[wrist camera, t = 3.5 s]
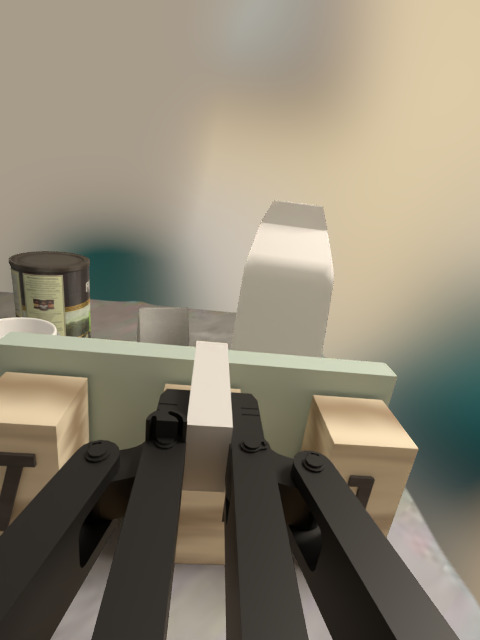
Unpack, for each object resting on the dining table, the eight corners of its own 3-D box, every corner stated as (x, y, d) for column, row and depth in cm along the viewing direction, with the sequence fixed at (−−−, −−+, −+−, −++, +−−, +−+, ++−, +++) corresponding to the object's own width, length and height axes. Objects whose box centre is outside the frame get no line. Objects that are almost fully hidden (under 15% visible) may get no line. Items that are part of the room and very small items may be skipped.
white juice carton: (186, 376, 54) (191, 312, 51) (139, 380, 52) (141, 313, 48) (180, 364, 57) (185, 303, 54) (136, 367, 55) (137, 304, 51)
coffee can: (81, 330, 64) (78, 250, 60) (100, 355, 57) (99, 265, 52) (13, 339, 58) (3, 251, 53) (24, 368, 51) (14, 268, 46)
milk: (221, 403, 49) (246, 198, 40) (230, 364, 60) (251, 195, 50) (311, 417, 48) (357, 213, 39) (304, 375, 59) (339, 207, 50)
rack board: (358, 502, 36) (397, 376, 31) (11, 486, 33) (-7, 343, 28) (350, 483, 38) (385, 363, 33) (25, 467, 35) (10, 331, 30)
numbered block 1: (376, 572, 29) (420, 451, 25) (303, 570, 29) (335, 446, 25) (350, 507, 35) (382, 400, 31) (288, 504, 35) (312, 394, 30)
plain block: (226, 564, 28) (245, 437, 24) (147, 562, 28) (153, 432, 24) (224, 501, 34) (240, 389, 30) (159, 498, 34) (165, 383, 29)
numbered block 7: (63, 563, 27) (54, 428, 23) (-23, 561, 27) (-49, 422, 22) (90, 495, 33) (87, 377, 29) (20, 491, 32) (6, 371, 28)
